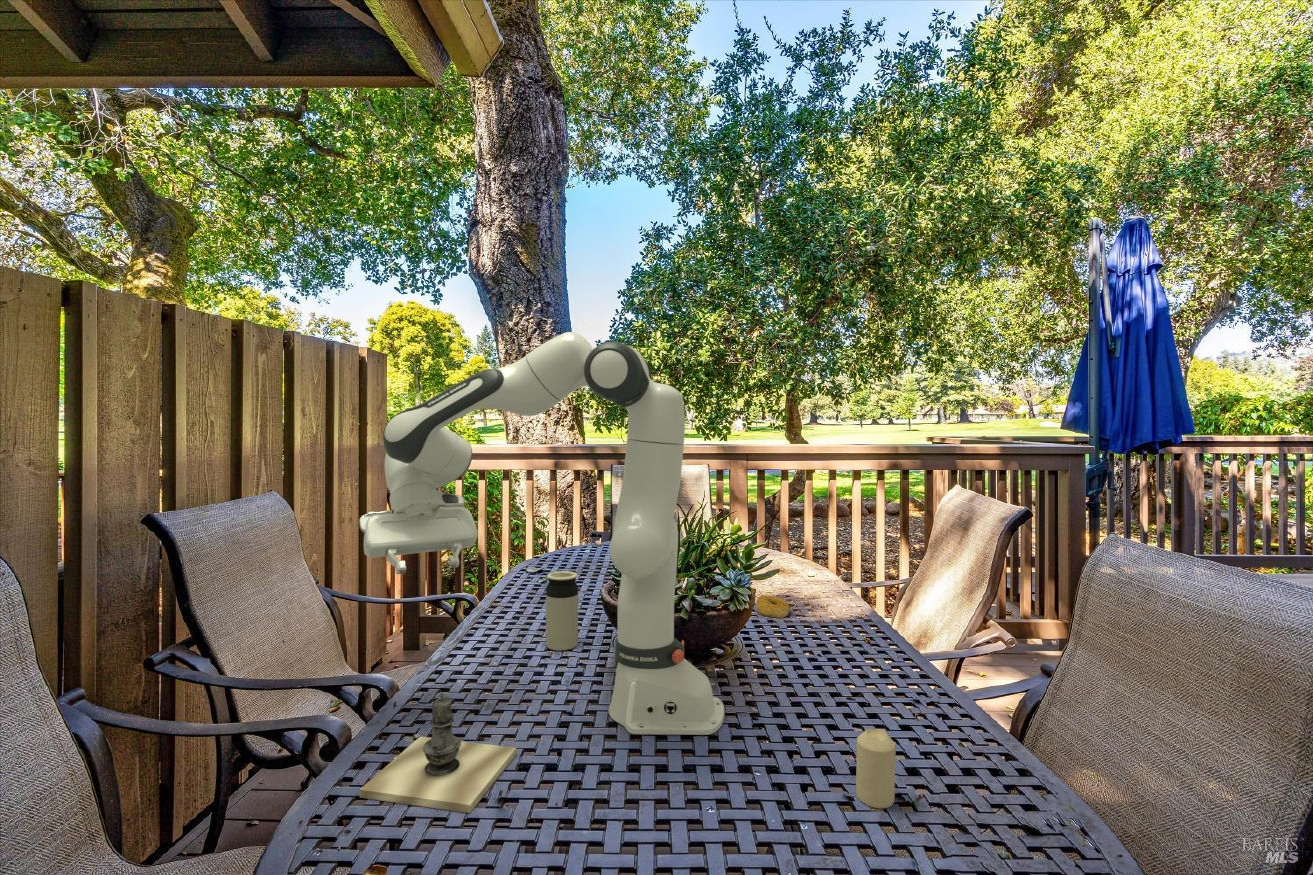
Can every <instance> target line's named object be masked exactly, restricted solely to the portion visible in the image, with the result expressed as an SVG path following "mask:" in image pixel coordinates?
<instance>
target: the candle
mask: <svg viewBox="0 0 1313 875" xmlns="http://www.w3.org/2000/svg"><path fill="white" fill-rule="evenodd" d="M896 748H897V747H896V743H895V742H894V740H893V739H892V738H891V736H890V735H888V733H887V732H886V731H885V730H884V731H883V730H881V729H879V728H876V729H872V728H866V730H864V731H863V732H862V733H861V734H860V735H858V736H857V737H856V764H855V765H856V769H855V770H856V771H855V773H856V775H855V776H856V777H855V780H856V781H855V793H856V794H855V795H856V797H857V799H858V798H859V799H858V800H859V801H860V802H861V801H862V802H863V803H862V802H861V803H862V804H864V803H865V804H864V805H865V806H867V807H871V808H874V809H887V808H891V807H892V806H893V805H894V804H893V803H895V800H896V799H895V798H896V797H895V795H896V794H895V792H896V791H895V790H896ZM891 805H892V806H891ZM890 806H891V807H890Z"/></svg>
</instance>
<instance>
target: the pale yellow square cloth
mask: <svg viewBox="0 0 1313 875" xmlns="http://www.w3.org/2000/svg"><path fill="white" fill-rule="evenodd" d="M431 738H432V737H430V736H429V737H427V736H419V737H418V738H417V739H416V740H414V741H413V742H412V743H410V745H408V747H406V748H405V749H404V750H402V752H400V753H399V754H398V755H397V756H396V757H395V758H394V759H393V760H391V762H389V763H388V764H387V765H385V766H384V767H383V768H382V769H381V770H380V771H379V772H377V774H375V775H374V776H373V777H372V778H371V779H370V780H369V781H367V782H366V783H365V784H364V785H363V786H362V787H360V789H358V790H359V791H358V792H359V793H358V794H359V798H360V799H361V798H362V799H367V800H368V799H369V800H374V801H375V800H376V801H382V802H390V803H397V804H402V805H412V806H417V807H425V808H431V809H439V810H444V811H445V810H446V811H453V812H459V813H467V814H471V812H472V811H473V810H474V809H475V808H476V806H477V805H478V804H479V803H480V802H481V800H482V799H483V798H484V796H485V795H486V794H485V793H488V791H489V790H490V789H491V787H492V786H493V785H494V784H495V782H496V781H497V780H498V778H500V776H501V775H500V774H502V773H503V772H504V771H505V769H507V767H508V766H509V765H510V763H511V762H512V761H513V760H514V758H515V757H516V756H517V747H513V746H504V745H496V744H488V743H478V742H471V741H469V742H468V741H462V740H461V746H460V747H459V751H458V754H457V756H456V757H455V758H456V759H457V760H458V761H459V767H458V768H457V769H456V770H455V771H454V772H452V773H450V774H447V775H444V776H431V775H428V774H427V773H426V772H425V766H426V765H427V764H428V763H429V761H428V760H427V758H426V756H425V753H424V752H423V746H424V744H425V743H426V742H427V741H429V740H431ZM484 794H485V795H484Z"/></svg>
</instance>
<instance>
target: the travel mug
mask: <svg viewBox="0 0 1313 875" xmlns="http://www.w3.org/2000/svg"><path fill="white" fill-rule="evenodd" d="M546 577H547V580H548V583H547V586H546V587H545V646H546V647H547V649H550V650H552V651H560V652H563V651H569V649H570V650H572V649H575V648H576V647H577V646H578V645H579V586H578V584H577V582H576V581H577V577H578V574H577V573H576V572H574V571H569V570H568V571H567V570H564V571H562V570H559V571H552V572H549V573H548V574H547V575H546Z"/></svg>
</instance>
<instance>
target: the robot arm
mask: <svg viewBox="0 0 1313 875" xmlns="http://www.w3.org/2000/svg"><path fill="white" fill-rule="evenodd" d="M651 374H652V372H651V369H650V366H649V363H648V362H647V361H646V359H645V358H644V357H643V355H642V354H641V353H640V352H639V351H637V350H636V348H634V347H631V346H629V345H628V344H625V343H623V342H619V341H607V342H603V343H601V344H599V345H596V346H595V347H593V346H592V345H591V343H590V342H589V341H588V340H587V339H586V338H585V337H584V336H583V335H581V334H579V333H577V332H572V331H567V332H563V333H562V334H558V335H557V336H554V337H553V338H550V339H549V340H547V341H546V342H544V343H542V344H540V345H539V346H537V347H535V349H533V350H531V351H530V352H529V353H528V354H526V355H525V356H524V357H522V358H520V359H519V360H516V361H514V362H513V363H511V364H508V365H505V366H502V367H498V368H487V369H483V370H480V371H478V372H477V373H475V374H474V373H473V374H472V375H470V376H469V377H466V378H465V379H463V380H461V381H459V382H458V383H456V384H454V385H451V387H449V388H447V389H445V390H443V391H442V392H440V393H438V394H436V395H434V396H433V397H431V398H429V399H428V400H426V401H424V402H422V403H420V404H417V405H415V406H413V407H412V406H411V407H410V408H409V407H408V408H406V409H404V410H402V411H399V412H398V413H396V414H395V415H393V416H392V417H391V418H390V419H389V420H388V421H387V423H386V424H385V426H384V429H383V432H382V443H383V447H384V450H385V455H384V456H385V457H384V465H383V467H384V474H385V475H384V476H385V481H386V482H385V483H386V487H387V488H388V491H389V493H390V494H389V504H390V508H391V510H390V509H389V510H381V511H368V512H366V514H363V515H362V516H360V518H359V519H358V524H359V529H360V531H361V532H362V533H364V536H363V552H364V555H365V556H367V557H368V558H370V559H375V558H383V557H384V558H386V560H387V563H389V564H390V565H391V566H392V567H393V568H394V570H395V574H396V575H401V574H402V575H403V574H406V571H407V565H406V561H405V560H400V559H399V558H398V557H397V556H403V555H410V554H411V555H412V554H421V553H430V552H439V551H448V550H450V551H451V553H452V554H453V555H449V556H448V557H449V558H448V560H447V561H448V566H449V568H450V569H453V568H458V567H459V565H460V559H459V555H460V552H461V550H462V549H468V548H472V547H473V546H475V544H476V542H477V539H478V537H479V536H478V535H479V532H478V528H477V526H476V522H475V520H474V517H473V515H472V513H471V512H470V510H469V509H468V508H466V507H464V506H465V499H464V497H463V496H461V495H458V494H454V493H448V492H443V491H441V490H437V489H438V488H442V487H445V486H447V485H449V484H451V483H453V482H454V481H456V480H458V479H460V478H461V477H463V476H464V475H465V473H467V471H468V470H469V468H470V466H471V465H472V464H471V463H472V459H473V448H472V445H471V443H470V442H469V441H468V440H467V439H466V438H464V437H462V436H461V435H459V434H457V433H456V432H455V431H453V430H450V429H448V428H447V426H448V425H450V424H452V423H453V422H455V421H457V420H458V419H461V418H462V417H464V416H466V415H467V414H470V413H471V412H474V411H476V410H480V409H481V410H483V409H492V410H499V411H503V412H504V411H505V412H509V413H512V414H515V415H520V416H527V417H531V416H538V415H540V414H543V413H544V412H547V411H549V410H550V409H552V408H554V406H556V405H557V404H558V403H560V402H561V401H562V400H564V399H565V398H566V397H569V395H570V394H572V393H573V392H575V391H576V390H578V389H579V388H583V387H589V389H590V390H591V391H592V392H593V393H594V394H595V395H597V396H598V397H600V398H602V399H604V400H606V401H608V402H611V403H613V404H616V405H618V406H621V407H623V408H625V409H626V412H627V416H628V426H627V435H626V444H625V445H626V447H625V456H624V467H623V468H624V469H623V477H622V484H621V489H620V494H619V497H618V502H617V507H616V514H615V518H614V524H613V529H612V530H613V531H612V536H611V539H610V545H609V556H610V559H611V562H612V564H613V565H614V567H615V568H616V569H617V571H619V572H620V573H621V576H620V577H621V578H620V583H619V589H618V590H619V591H618V595H617V623H616V624H617V627H616V628H617V630H616V632H617V634H616V636H617V637H616V639H614V640H615V641H614V649H613V650H614V653H613V654H614V657H613V659H614V668H615V679H614V684H613V685H614V686H613V692H612V696H611V700H610V704H609V707H608V715H609V716H610V718H611V719H612V720H614V721H615V722H616V723H618V724H620V725H621V726H623V727H624V728H625V729H626V731H627V732H628V733H630V734H632V735H678V736H679V735H684V736H685V735H689V736H690V735H693V736H694V735H698V736H700V735H701V736H702V735H703V736H705V735H707V736H708V735H713V733H716V732H717V731H718V730H719V729H720V728H721V727H722V725H723V723H724V720H725V706H724V703H723V701H722V700H721V699H720V698H718V697H717V696H714V694H713V693H714V692H713V689H712V685H711V682H710V679H709V678H708V676H707V675H706V674H705V672H702V671H701V670H699V669H698V668H697V667H696V666H694V665H693V664H692V663H691V662H689V661H688V660H687V659H686V658H685V641H684V639H682V640H681V642H680V641H679V640H678V639H677V638H676V637H675V635H674V634H675V594H676V582H677V567H678V552H679V551H678V550H679V529H678V525H677V523H676V521H675V515H676V509H677V504H678V503H677V502H678V498H679V497H678V496H679V491H680V487H681V478H682V468H683V467H682V466H683V458H684V457H683V456H684V447H685V444H684V443H685V435H686V434H685V433H686V432H685V431H686V422H685V420H686V419H685V418H686V417H685V416H686V414H685V405H684V398H683V395H682V394H681V392H680V391H679V390H678V389H677V388H675V387H674V386H671V385H669V384H666V383H659V382H655V381H653V380H652V375H651Z"/></svg>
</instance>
